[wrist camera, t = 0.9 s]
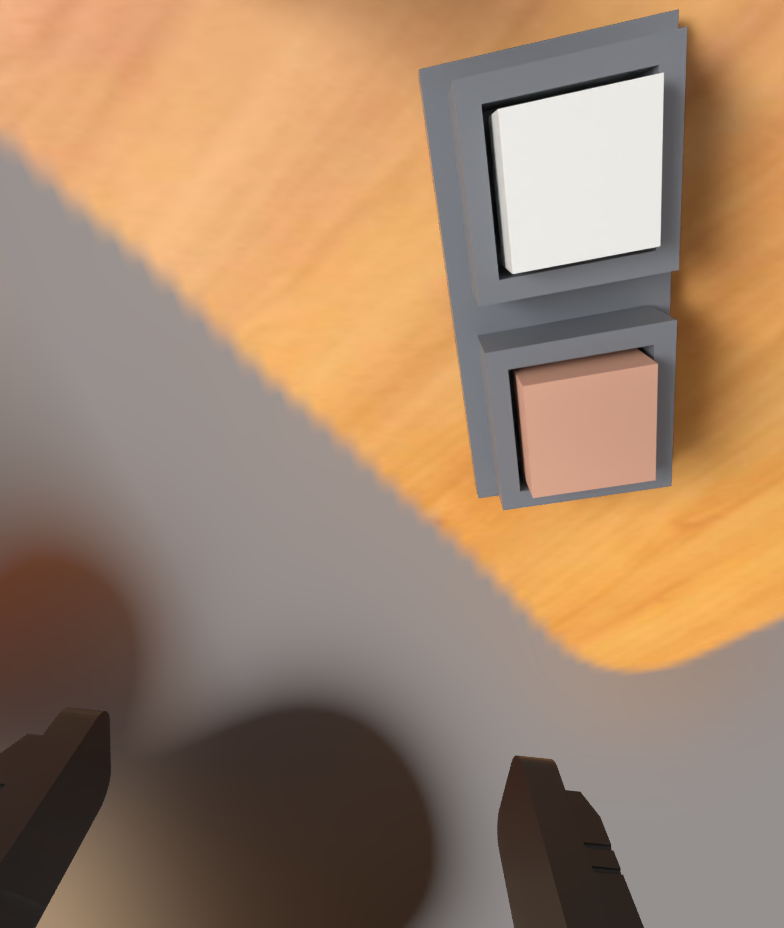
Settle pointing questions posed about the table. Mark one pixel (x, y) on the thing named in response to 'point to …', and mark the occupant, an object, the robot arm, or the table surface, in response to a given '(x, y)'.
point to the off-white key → (579, 174)
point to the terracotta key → (587, 422)
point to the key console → (559, 287)
